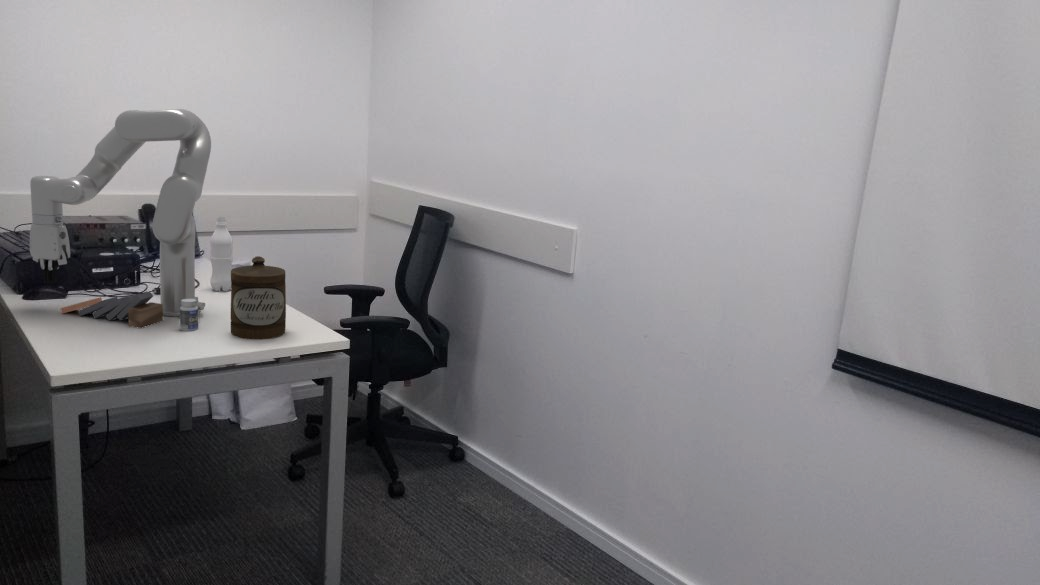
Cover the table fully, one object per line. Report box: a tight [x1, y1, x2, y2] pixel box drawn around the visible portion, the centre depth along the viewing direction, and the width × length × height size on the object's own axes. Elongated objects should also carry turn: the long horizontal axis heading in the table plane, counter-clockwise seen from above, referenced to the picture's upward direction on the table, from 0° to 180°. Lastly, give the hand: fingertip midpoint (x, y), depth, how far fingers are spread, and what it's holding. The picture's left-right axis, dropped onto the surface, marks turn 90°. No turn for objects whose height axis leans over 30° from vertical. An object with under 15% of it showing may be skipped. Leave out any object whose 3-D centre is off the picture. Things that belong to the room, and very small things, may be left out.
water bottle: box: [209, 216, 234, 292], centre depth 263 cm, size 7×7×25 cm
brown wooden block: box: [128, 302, 164, 329], centre depth 220 cm, size 4×9×5 cm, turn 167°
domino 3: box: [91, 295, 130, 319], centre depth 222 cm, size 2×5×10 cm
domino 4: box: [105, 292, 142, 322], centre depth 221 cm, size 2×5×10 cm
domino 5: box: [117, 291, 154, 321], centre depth 220 cm, size 2×5×10 cm
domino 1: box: [60, 296, 103, 314], centre depth 224 cm, size 2×5×10 cm
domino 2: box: [77, 296, 119, 317], centre depth 223 cm, size 2×5×10 cm
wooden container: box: [230, 255, 287, 341], centre depth 218 cm, size 15×15×22 cm
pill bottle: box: [179, 299, 199, 332], centre depth 217 cm, size 5×5×8 cm
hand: (50, 282), depth 225 cm, fingers closed
